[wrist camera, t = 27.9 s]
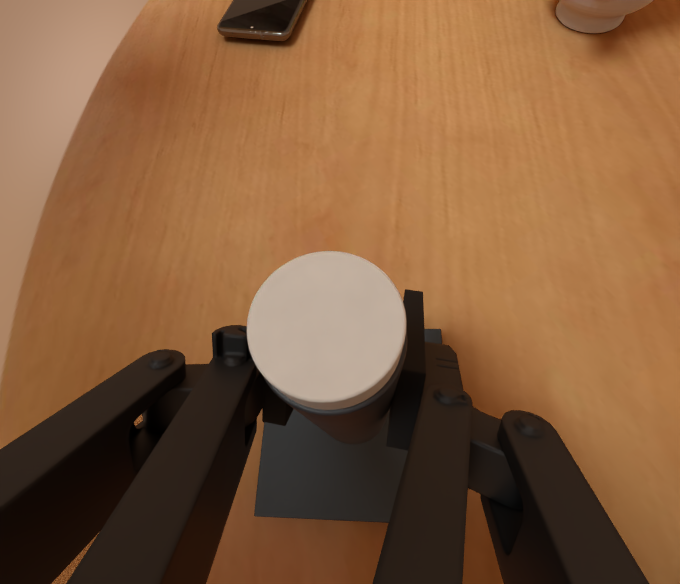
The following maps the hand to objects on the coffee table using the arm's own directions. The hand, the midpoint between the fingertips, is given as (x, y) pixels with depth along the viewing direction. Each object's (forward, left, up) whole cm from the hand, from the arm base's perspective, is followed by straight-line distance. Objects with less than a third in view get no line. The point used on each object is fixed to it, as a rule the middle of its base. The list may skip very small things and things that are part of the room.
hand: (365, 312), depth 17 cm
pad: (-1, -4, -7) cm, 8 cm away
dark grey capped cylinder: (-1, -4, -4) cm, 5 cm away
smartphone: (-9, +38, -7) cm, 39 cm away
